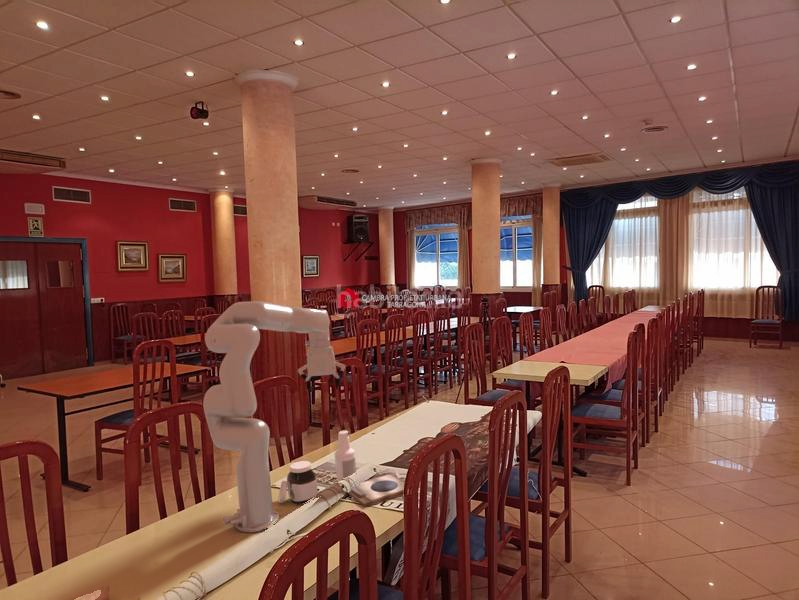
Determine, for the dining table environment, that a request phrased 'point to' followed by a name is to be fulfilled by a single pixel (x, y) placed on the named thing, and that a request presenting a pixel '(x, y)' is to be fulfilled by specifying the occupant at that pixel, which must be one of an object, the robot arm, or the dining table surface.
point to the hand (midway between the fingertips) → (323, 389)
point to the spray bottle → (344, 457)
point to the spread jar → (299, 483)
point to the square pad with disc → (377, 490)
